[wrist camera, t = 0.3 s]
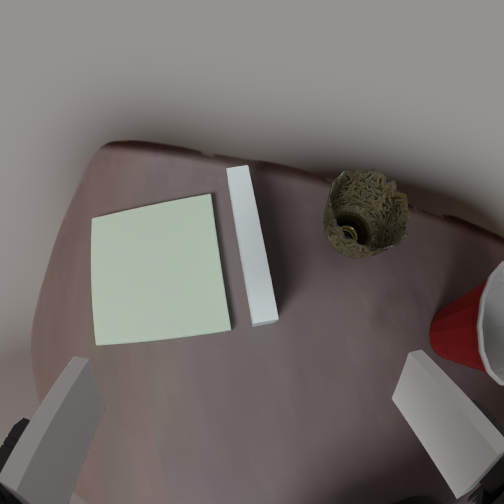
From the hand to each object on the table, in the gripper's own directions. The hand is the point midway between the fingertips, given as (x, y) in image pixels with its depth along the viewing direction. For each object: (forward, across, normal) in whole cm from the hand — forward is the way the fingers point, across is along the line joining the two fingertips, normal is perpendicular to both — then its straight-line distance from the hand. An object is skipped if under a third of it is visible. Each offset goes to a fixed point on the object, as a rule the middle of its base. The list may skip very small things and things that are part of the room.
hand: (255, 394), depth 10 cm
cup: (+20, -11, -2) cm, 23 cm away
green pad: (+19, +9, +2) cm, 21 cm away
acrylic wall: (+19, -1, 0) cm, 19 cm away
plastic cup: (+13, -23, +7) cm, 27 cm away
